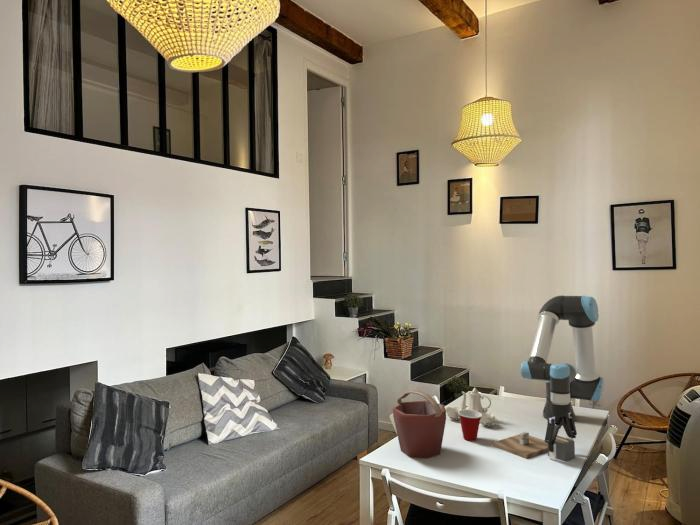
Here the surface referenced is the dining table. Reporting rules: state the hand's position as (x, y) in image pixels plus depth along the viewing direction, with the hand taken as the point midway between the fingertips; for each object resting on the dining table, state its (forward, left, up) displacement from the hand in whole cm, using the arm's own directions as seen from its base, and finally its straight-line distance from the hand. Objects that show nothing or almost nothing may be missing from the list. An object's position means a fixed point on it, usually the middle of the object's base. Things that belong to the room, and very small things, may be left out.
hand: (561, 456), depth 219 cm
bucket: (+41, -39, 0) cm, 57 cm away
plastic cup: (+14, -37, 0) cm, 40 cm away
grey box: (0, 0, 0) cm, 0 cm away
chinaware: (-6, -55, -1) cm, 55 cm away
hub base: (+3, -16, 0) cm, 16 cm away
